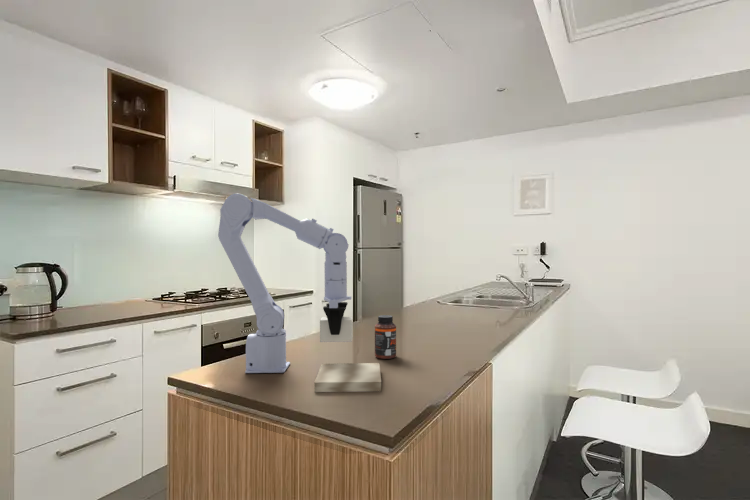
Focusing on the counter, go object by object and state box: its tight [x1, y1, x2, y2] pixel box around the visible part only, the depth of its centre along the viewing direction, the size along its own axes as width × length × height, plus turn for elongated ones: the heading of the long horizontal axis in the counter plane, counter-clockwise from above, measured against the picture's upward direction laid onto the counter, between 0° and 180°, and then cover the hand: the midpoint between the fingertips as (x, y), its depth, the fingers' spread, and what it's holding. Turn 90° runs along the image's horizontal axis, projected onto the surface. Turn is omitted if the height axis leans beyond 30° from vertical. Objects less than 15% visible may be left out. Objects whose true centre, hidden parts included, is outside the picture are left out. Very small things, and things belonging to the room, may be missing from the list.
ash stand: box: [313, 362, 382, 393], centre depth 93 cm, size 14×14×2 cm
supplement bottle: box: [374, 314, 397, 360], centre depth 113 cm, size 6×6×11 cm
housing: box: [319, 316, 353, 343], centre depth 106 cm, size 8×5×6 cm, turn 91°
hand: (336, 332), depth 106 cm, fingers closed on housing, 5 cm apart
